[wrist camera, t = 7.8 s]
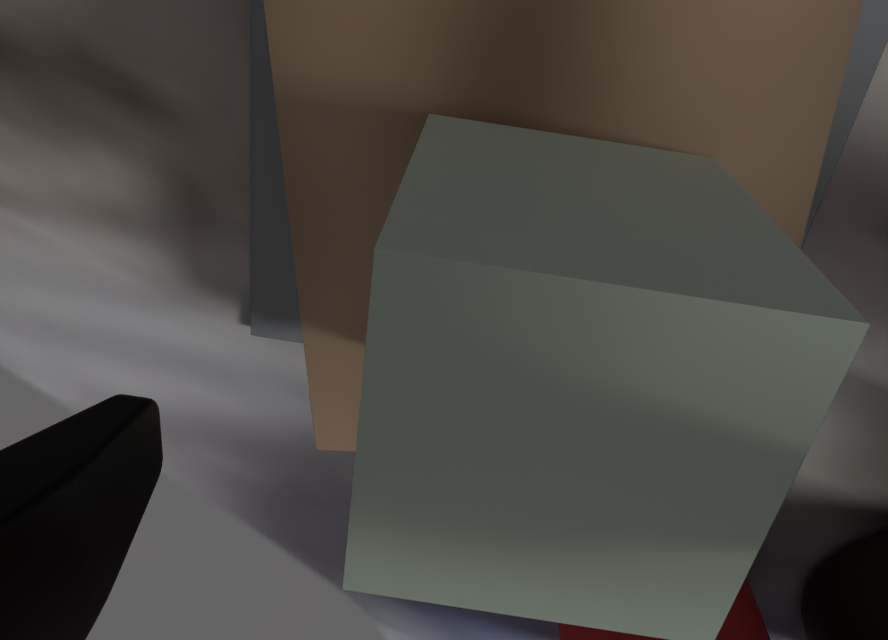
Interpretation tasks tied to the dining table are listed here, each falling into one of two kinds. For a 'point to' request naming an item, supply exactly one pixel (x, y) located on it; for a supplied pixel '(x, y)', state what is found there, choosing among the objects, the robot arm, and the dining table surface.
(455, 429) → the sage block
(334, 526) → the dining table surface
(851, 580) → the bottle
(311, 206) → the slab top
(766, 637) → the beer can
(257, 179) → the mat
